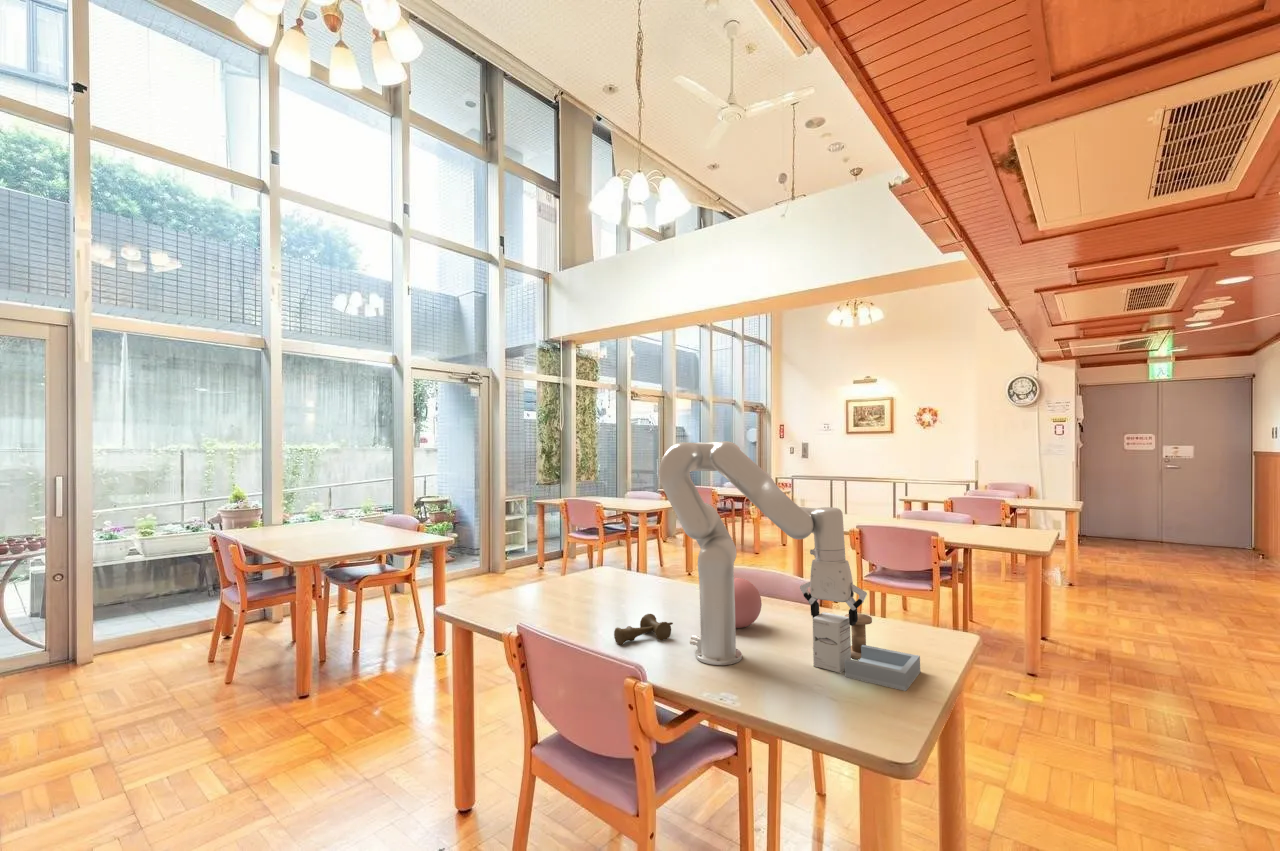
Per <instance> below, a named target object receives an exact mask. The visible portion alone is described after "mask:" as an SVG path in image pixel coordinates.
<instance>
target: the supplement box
mask: <svg viewBox="0 0 1280 851" xmlns="http://www.w3.org/2000/svg"><path fill="white" fill-rule="evenodd" d="M812 645H813V647H812V648H813V649H812V651H813V652H812V653H813V654H812V655H813V656H812V657H813V667H815V668H816V667H817V668H820V669H823V670H824V669H825V670H828V671H832V672H835V673H838V674H840V673H842V672H843V671H844V672H845V660H846V659H851V646H852V637H851V626H850V624H849V617H845V615H840V614H835V613H829V612H825V611H824V612H822V613H819V615H817V616H815V617H814V618H813V617H812ZM851 660H852V659H851Z"/></svg>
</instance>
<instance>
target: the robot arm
mask: <svg viewBox="0 0 1280 851" xmlns="http://www.w3.org/2000/svg"><path fill="white" fill-rule="evenodd" d="M691 472H718V473H719V474H721V476H723V477H724V478H725V479H726V480H727V481H728V482H730V484H731V485H732V486H734V487H735V488H736V489H737V490H738V491H739V492H740V493H741V494H743V495H744V496H745V497H746V498H747V499H748V500H749V501H750V502H751V503H752V504H753V505H754V506H755V507H756V508H757V509H758V510H760V511H761V512H762V513H763V514H764V516H766V517H767V518H768V519H769V520H770V521H771V522H772V524H775V525H776V526H777V527H778V529H780V530H781V531H783V533H785V535H787V536H788V537H789V538H792V539H795V540H804V539H806V538H808V537H810V535H811V534H813V541H814V548H813V549H810V550H809V555H812V556H814V559H812V561H811V567H810V578H809V579H810V581H808V582H806V583H803V584H801V585H800V586H799V589H800V591H801V594H802V595H803V598H804V599H805V600H806V601H807V603H808V604H809V605H810V615H811V617H812V619H813V618H814V617H815V616H817V615H819V614H820V604H819V601H818V600H821V601H829V602H836V603H845V604H847V606H848V607H849V609H848V614H849V624H850V627H851V626H853V625H854V624H856V622H857V621H858V615H857V614H858V608H859V607H860V606H861V605H862V604H863V603H864V601H865V599H866V597H867V596H868V592H867V591H865V590H863V589H862V588H859V587H858V586H857V585H855V584H854V583H853V581H854V580H853V576H852V570H851V567H850V563H849V561H848V560H847V559H846V547H845V546H846V545H845V543H846V542H845V532H844V530H845V528H844V515H843V511H842V509H840V508H838V507H833V506H831V507H829V506H827V507H826V506H824V507H817V508H816V507H814V508H813V507H805V506H799V505H798V504H796V502H794V501H793V500H792V499H791V498H790V497H789V496H788V495H787V494H786V493H785V492H784V491H783V490H782V489H781V488H780V487H778V485H777V484H776V482H775V481H774V479H773V478H772V476H770V475H769V474H768V472H766V471H765V470H764V469H762V468H761V466H759V465H758V464H757V463H756V462H754V460H752V459H751V458H750V457H749V456H748V455H747V454H745V453H744V452H743V451H742V450H741V449H740V447H739V446H738V444H736V443H734V442H732V441H727V440H725V441H724V440H723V441H717V442H715V441H714V442H687V441H686V442H685V441H684V442H683V441H681V442H677V443H675V444H673V445H671V446H670V447H669V448H668V449H667V450H666V452H665V453H664V455H663V456H662V458H661V460H660V463H659V469H658V475H659V476H658V477H659V481H660V485H661V487H662V489H663V492H664V494H665V496H666V498H667V499H668V502H669V503H670V506H671V508H672V510H673V512H674V514H675V516H676V517H677V519H678V521H679V524H680V525H681V528H682V530H683V531H684V533H685V535H686V536H687V537H689V538H691V539H693V540H695V541H696V543H697V544H698V546H699V548H700V550H699V553H698V556H697V572H698V583H699V615H700V617H699V618H700V620H699V621H700V623H699V624H700V636H698V635H695V634H692V635H691V636H690V640H689V644H690V645H692V646H696V647H697V648H696V649H695V650H696V651H695V654H694V656H695V658H696V660H697V661H700V662H701V663H704V664H707V665H711V666H712V665H713V666H728V665H734V664H737V663H739V662H740V661H741V660H742V658H743V653H742V651H741V650H740V649H738V648H737V640H736V638H737V635H736V632H737V631H736V629H737V628H735V590H734V578H735V574H734V573H735V572H734V571H735V569H734V568H735V562H736V558H737V553H738V552H737V548H736V547H737V546H736V545H735V542H734V540H733V538H732V536H731V534H730V533H729V531H728V529H727V527H726V526H725V523H724V521H723V520H722V519H721V516H720V514H719V513H718V511H717V509H715V507H714V506H712V505H711V504H709V503H707V502H705V501H704V500H703V498H702V496H701V495H700V492H699V491H698V488H697V486H696V485H695V484H694V482H693V480H692V478H691V474H690V473H691ZM808 588H810V590H808ZM854 593H855V594H856V595H857V596H858V599H857V600H855V598H854V596H855V594H854Z"/></svg>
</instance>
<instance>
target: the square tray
mask: <svg viewBox="0 0 1280 851" xmlns="http://www.w3.org/2000/svg"><path fill="white" fill-rule="evenodd" d="M920 673H921V655H918V654H911V653H907V652H902V651H899V650H898V651H897V650H893V649H887V648H882V647H877V646H871V645H867V644H866V645H862V646H861V659H859V660H855V659H846V660H845V670H844V676H845V678H849V679H853V680H858V681H861V682H865V681H866V683H870V684H875V685H879V686H883V687H887V688H890V689H891V688H892V689H896V690H899V691H904V692H907V690H908V689H909V687H910V686H911V685H912V684H913V683H914V681H915V680H916V679H917V677H919V675H920Z"/></svg>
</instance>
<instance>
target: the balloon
mask: <svg viewBox="0 0 1280 851" xmlns="http://www.w3.org/2000/svg"><path fill="white" fill-rule="evenodd" d="M734 590H735V628H736V629H742V628H743V629H744V628H746V627H749V626H750V625H752V624H754V623H755V621H756V620H757V619H758V618H759V615H761V614H760V613H761V611H762V598H761V594H760V592H759V590H758V589H757V587H756V585H754V584H753V583H752V582H750V580H748V579H745V578H743V577H734Z"/></svg>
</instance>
